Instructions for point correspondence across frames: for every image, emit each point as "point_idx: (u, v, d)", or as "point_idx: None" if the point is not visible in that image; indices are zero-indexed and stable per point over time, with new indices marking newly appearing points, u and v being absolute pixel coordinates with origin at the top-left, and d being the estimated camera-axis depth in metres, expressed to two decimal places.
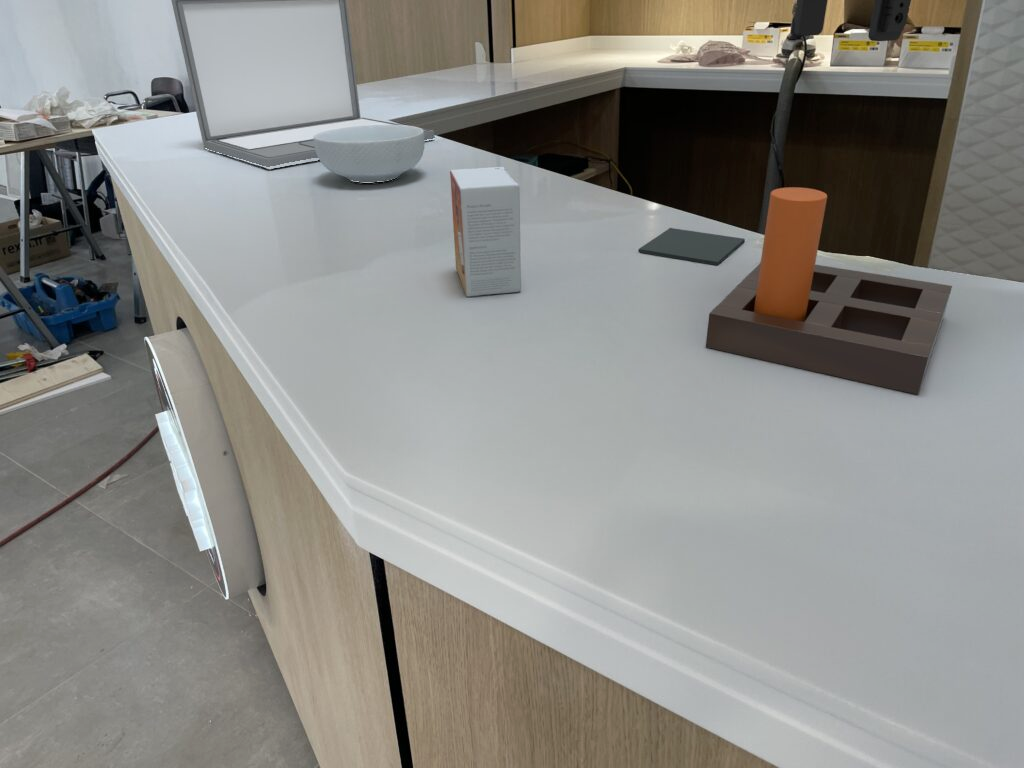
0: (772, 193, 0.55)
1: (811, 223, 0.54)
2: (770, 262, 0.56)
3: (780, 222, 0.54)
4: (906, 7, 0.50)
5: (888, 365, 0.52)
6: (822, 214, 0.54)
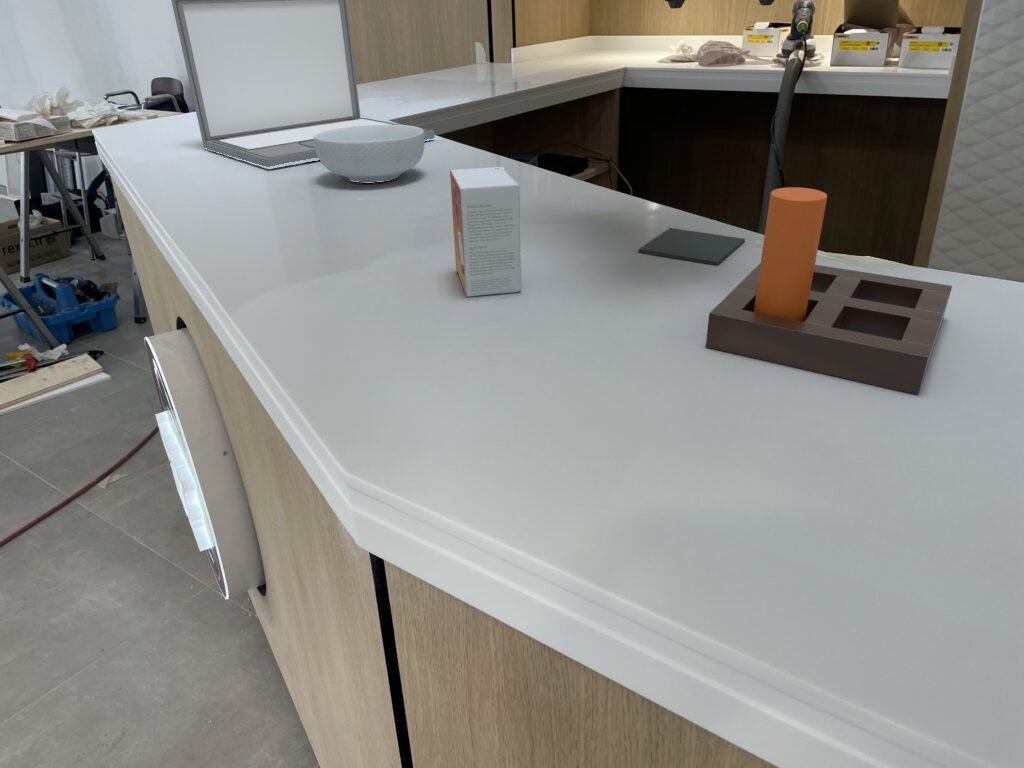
0: (772, 193, 0.55)
1: (811, 223, 0.54)
2: (770, 262, 0.56)
3: (780, 222, 0.54)
4: None
5: (888, 365, 0.52)
6: (822, 214, 0.54)
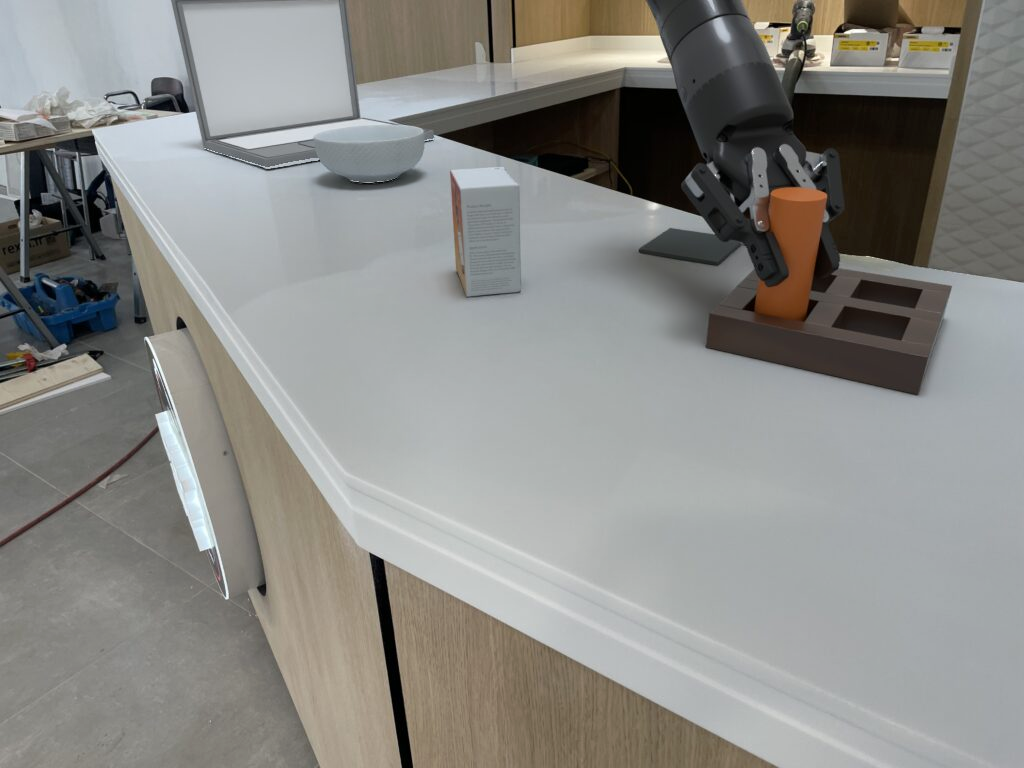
0: (772, 193, 0.55)
1: (811, 223, 0.54)
2: None
3: (780, 222, 0.54)
4: (760, 257, 0.55)
5: (888, 365, 0.52)
6: (822, 214, 0.54)
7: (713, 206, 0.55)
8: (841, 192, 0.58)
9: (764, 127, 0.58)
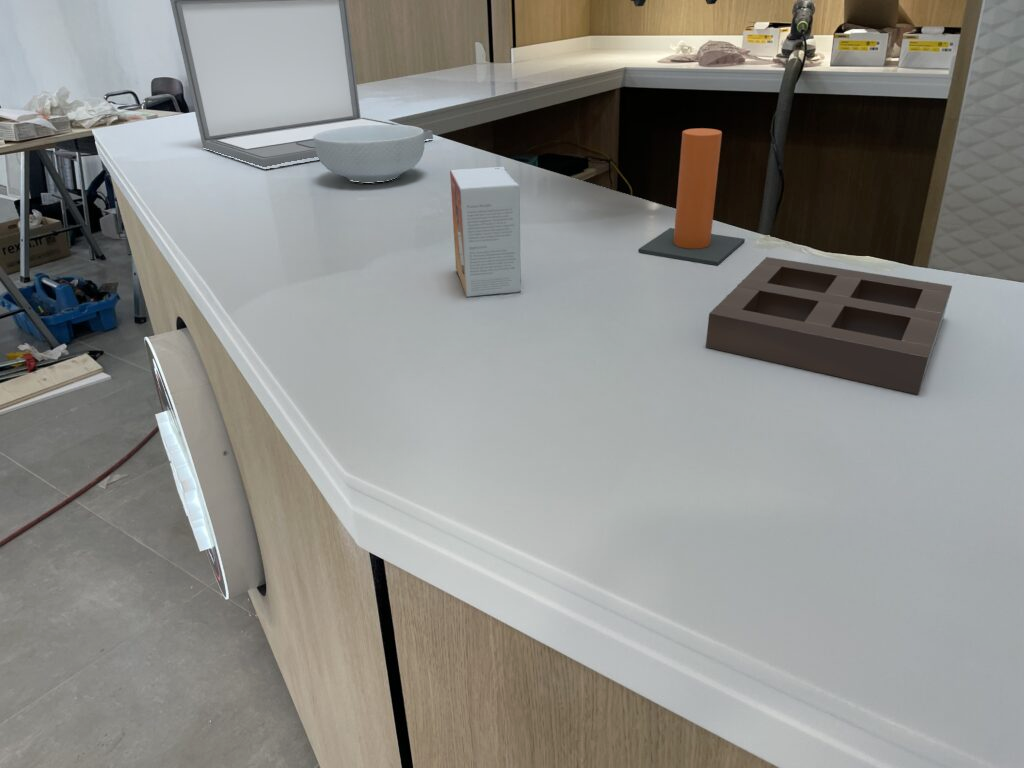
0: (683, 131, 0.76)
1: (710, 152, 0.75)
2: (683, 182, 0.77)
3: (688, 152, 0.76)
4: None
5: (888, 365, 0.52)
6: (718, 146, 0.75)
7: None
8: None
9: None
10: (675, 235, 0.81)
